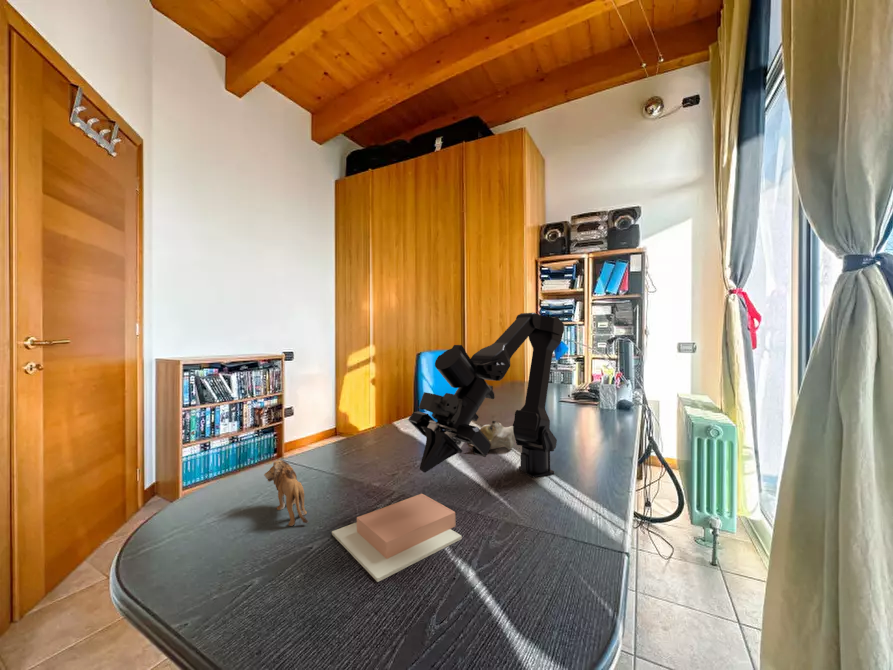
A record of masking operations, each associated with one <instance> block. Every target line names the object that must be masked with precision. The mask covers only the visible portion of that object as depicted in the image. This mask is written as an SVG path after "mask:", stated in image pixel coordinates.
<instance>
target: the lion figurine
mask: <svg viewBox="0 0 893 670" xmlns="http://www.w3.org/2000/svg"><path fill="white" fill-rule="evenodd" d="M263 476H264V477H265V479H267V481H268V482H271V481H273V485H275V488H276V491H277V497H278V502H279V505H277V507H276V510H277V511H281V510H284V509H285V507H286V509H287V511H288V516H289V519H290V520H289V521H288V524H287V525H288V526H289V527H292V526H294V525H296V518H295V512H294V510H293V505H295V507H296V511H297V514H298V516H299V518H300V519H301V521H302V522H303V523H304V524H308V523H309V520H308V519H307V518H306V517H305V516H306V515H307V513H308V512H307V510H306V508H305V490H304V486H303V485H302V483H301V481H298V480H297V473H296V471H294V469H293V467H292V466H291V464H289V463H288V462H287V461H285V460H281V459H278V460H276V461H273V466H272V467H270V468H269V470H268V471H267V472H265V473H264V474H263Z"/></svg>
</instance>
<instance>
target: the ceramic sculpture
mask: <svg viewBox="0 0 893 670" xmlns="http://www.w3.org/2000/svg"><path fill="white" fill-rule="evenodd" d="M479 429H480V430H481V432H482V433H483V434H484V435H485V436H486V437H487V438H488V440H489V441H490V450H496V448H497V449H499V448H506V449H507V450H510V451H511V450H512V449H513V448H514V445H515V443H516V440H515V436H514V433H513V425H511V426H504V425H502V423H500V422H499V421H496V420H492V422H491V424H484V425H482V427H480V428H479ZM473 446H474V445H472V444H468V445H467V447H469V448H472V447H473ZM511 448H512V449H511ZM472 449H473V448H472Z"/></svg>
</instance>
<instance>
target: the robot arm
mask: <svg viewBox="0 0 893 670" xmlns="http://www.w3.org/2000/svg"><path fill="white" fill-rule="evenodd" d="M564 332H565V324H564V322H563V321H561V319H560V318H559V317H557V316H554V317H553V316H547V315H542V314H539V313H536V312H523V313H519V314H518V315H516V318H515V320H514V321H513V322H512V323H511V324H510V325H509V326H508V327H507V328H506V330H505V331H503V332H502V334H501V335H500V336H499V337H498V338H497V339H496V340H495V341H494V342H493V343H492V344H490V345H488V346H485V347H483V348H481V349H479V350H478V351H476V352H475V353H474V354H473V355H472V356H471V357H470V356H469V355H468V353H467V352H466V349H465V348H464V346H463V345H462V344H454V345H453V346H452V348H449V349H447V350H446V351H444V352H442V353H441V354H440V355H438V356H437V358H436V359H435V362H434V367H435V369H436V370H437V371H438V372H439V373H440V374H441V375H442V377H443V379H445V381H446V382H447V383H448V384H449V385H450V387H451V388H453V389H456V391H455V393H454V394H453V393H448V392H446V393H445V394H444V395H439V394H435V393H430V392H426V391H424V392H423V394H422V397H421V400H420V401H419V404H418V405H419V406H418V409H419V410H421V411H423V410H425V411H427V412H430V413H432V414H431V416H430V415H429V414H428V413H427V412H421V411H413V412H412V414H411V415H410V416H409V418H408V422H409V423H410V424H411V425H412V426H413V427H414V428H415V429H416V430H417V431H418V432H419V433H420V434H421V435H423V436H424V437H426V440H425V446H424V451H423V453H422V457H421V461H420V465H419V470H420V471H421V472H422V473H424V474H425V473H427V472H428V471H430V470H432V469H434V468H435V467H436V466H438V465H439V464H441V463H444V462H445V461H446V460H449V459H450V458H451V457H454V456H455V455H457V454H462V453H463V450H462V447H463V446H464V444H468V445H469V444H472V445H474V446H473V447H472V452H473V454H475V455H476V456H480V457H482V458H486V457H487V455H488V453H489V452H490V450H491V449H490V441H489V440H488V438H487V437H486V436H485V435H484V434H483V433H482V432H481V430H480V429H481V428H479V426H475V425H472V424H471V422H472V421H475V422H477V421H478V420H479V417H480V416H479V415H478V414H477V413H478V412H479V410H480V408H481V406H482V405H483V403H484V401H485V400H486V399H488V400H489V399H490V400H494V399H495V397H496V395H495V392H494V386H493V385H490V384H488V383H487V381H495V382H497V381H502V380H503V379H504V377H505V376H506V374H507V373H508V371H509V369H510V367H511V358H512V357H513V356H514V354H516V352H517V350H519V348H521V346H522V345H523V343H525V341H526V340H527V339H528V340H529V342H530V345H531V347H532V354H531V361H530V362H531V363H530V368H529V374H528V375H529V376H528V382H527V387H526V394H525V401H524V404H523V406H522V408H520V410H519V409H516V410H515V412H514V419H513V423H512V426H513V433H514V436H515V443H516V446H519V447H521V453H520V466H518V470H520V471H522V472H523V473H524V474H526V475H528V476H529V477H531V478H539V477H544V476H549V475H554V474H555V471H554V470H552V469H551V452H554V451H555V449H556V448H557V442H558V440H557V437H555V436H556V435H554V433H553V432H552V431H551V429H550V427H551V426H550V424H551V421H550V417H549V415H548V413H547V411H546V410H547V409H546V403H547V396H548V388H549V383H550V376H551V368H552V361H553V360H552V359H553V354H554V352H555V350H556V349H557V348H558V347H559V346H560V344H561V343H562V338H563V334H564ZM435 420H436V421H435Z"/></svg>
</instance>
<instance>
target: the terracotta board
mask: <svg viewBox="0 0 893 670" xmlns="http://www.w3.org/2000/svg"><path fill="white" fill-rule="evenodd" d="M356 522H357V532H358V533H359V534H360V535H361V536H362V537H363V538H364V539H365V540H366V541H368V542H369V543H370V544H371V545H372V546H373V547H374V548H375V549H376V550H377V551H379V552H380V553H381V554H382V555H383V556H384V557H385V558H386V559H388V558H390V557H392V556H394V555H396V554H398V553H400V552H402V551H404V550H407V549H409V548H411V547H413V546H415V545H417V544H419V543H421V542H423V541H426V540H428V539H430V538H432V537H434V536H436V535H438V534H440V533H442V532H444V531H447V530H449V529H451V530H452V529H453V528H455V527H456V511H454V510H452V509H451V508H449V507H447V506H445V505H443V504H442V503H440V502H439V501H436V500H434V499H432V498H430V496H428V495H425V494H423V493H420V494H417V495H414V496H411V497H409V498H406V499H404V500H401V501H398V502H395V503H392V504H390V505H389V504H388V505H387V506H384V507H382V508H378V509H376V510H374V511H371V512H368V513H365V514H362V515H359V516H356Z"/></svg>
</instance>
